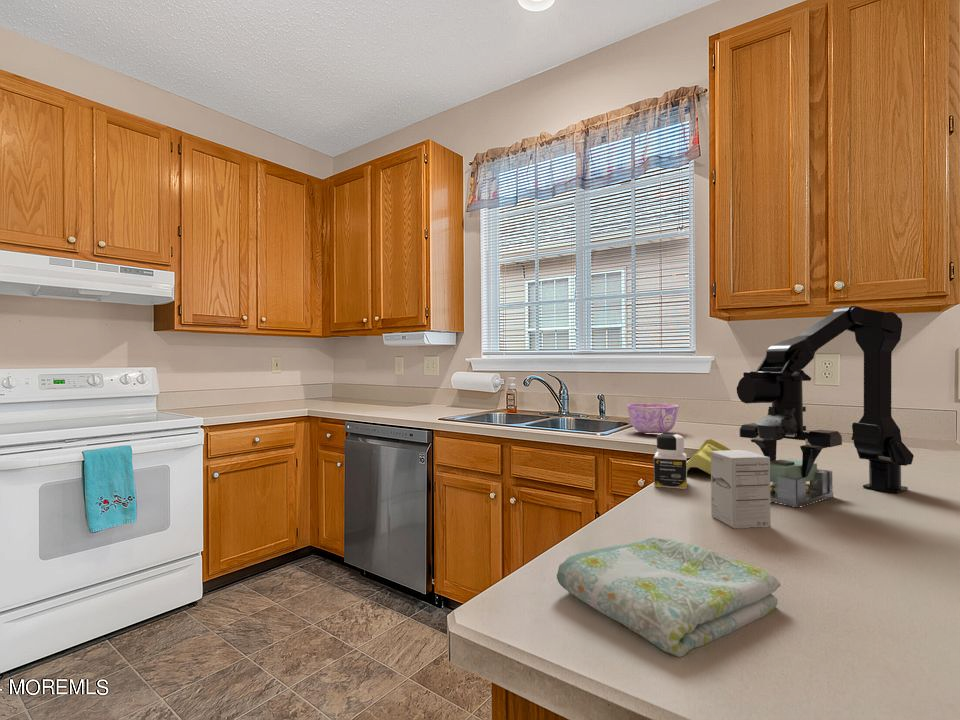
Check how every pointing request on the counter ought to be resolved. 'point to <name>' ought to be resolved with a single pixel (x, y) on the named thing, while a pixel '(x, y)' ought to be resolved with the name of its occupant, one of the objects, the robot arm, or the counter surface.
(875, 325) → the robot arm
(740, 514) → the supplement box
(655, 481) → the medicine bottle
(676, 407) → the purple round bowl
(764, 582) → the towel
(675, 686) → the counter surface
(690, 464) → the plastic component
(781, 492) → the chassis
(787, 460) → the green block
